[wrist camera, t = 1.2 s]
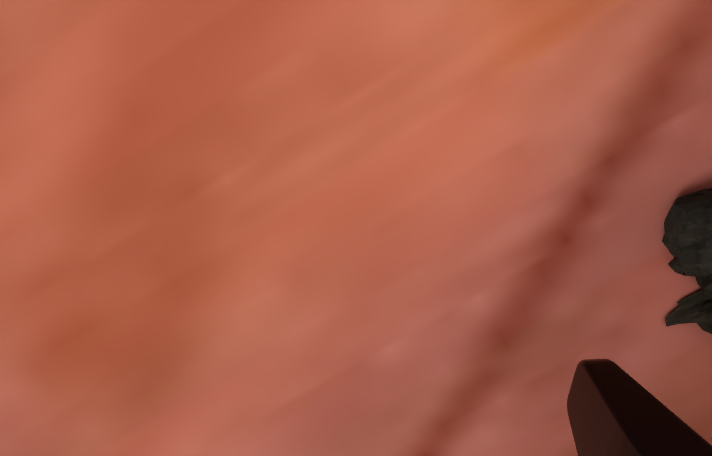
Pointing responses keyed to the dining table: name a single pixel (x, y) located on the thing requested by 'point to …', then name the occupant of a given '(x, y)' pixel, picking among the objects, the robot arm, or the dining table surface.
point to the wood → (692, 255)
